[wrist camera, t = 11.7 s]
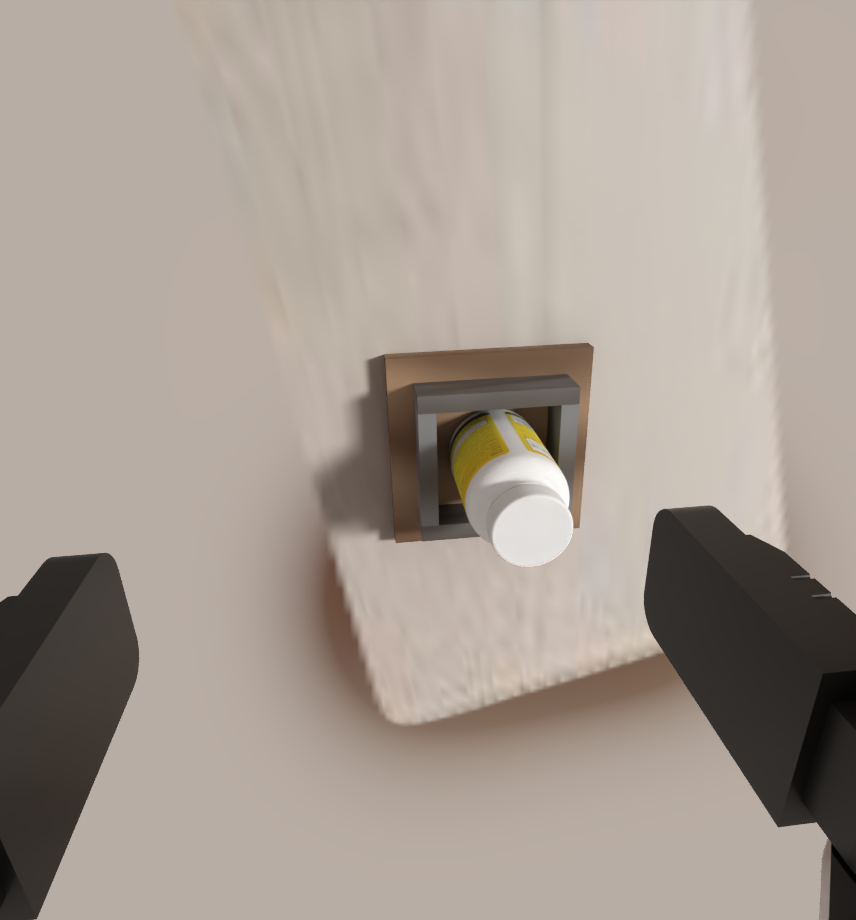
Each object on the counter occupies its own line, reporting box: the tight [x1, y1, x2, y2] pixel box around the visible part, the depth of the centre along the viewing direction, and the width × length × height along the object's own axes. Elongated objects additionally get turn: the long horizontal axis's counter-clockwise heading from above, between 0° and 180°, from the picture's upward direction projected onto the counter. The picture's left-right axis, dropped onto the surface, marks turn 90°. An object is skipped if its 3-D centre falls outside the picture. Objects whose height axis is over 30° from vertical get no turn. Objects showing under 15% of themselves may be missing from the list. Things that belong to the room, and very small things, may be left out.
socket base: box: [385, 343, 594, 543], centre depth 38 cm, size 12×12×4 cm
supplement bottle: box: [449, 409, 573, 567], centre depth 35 cm, size 5×5×10 cm
